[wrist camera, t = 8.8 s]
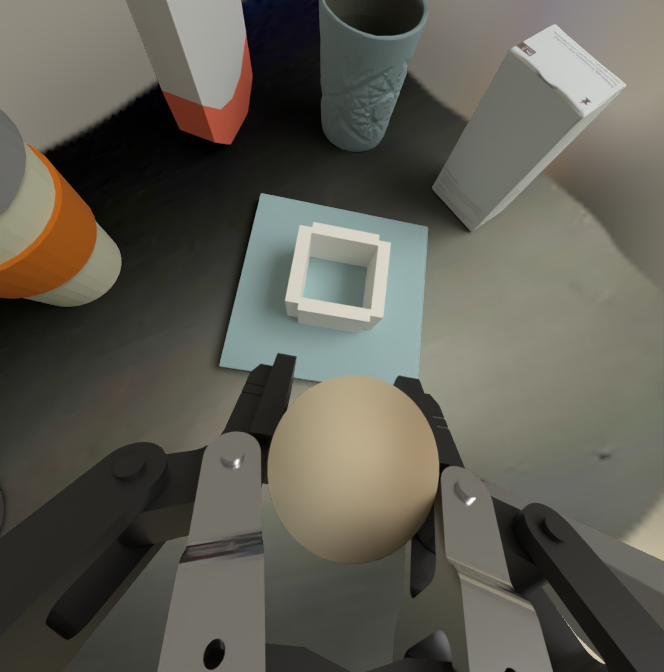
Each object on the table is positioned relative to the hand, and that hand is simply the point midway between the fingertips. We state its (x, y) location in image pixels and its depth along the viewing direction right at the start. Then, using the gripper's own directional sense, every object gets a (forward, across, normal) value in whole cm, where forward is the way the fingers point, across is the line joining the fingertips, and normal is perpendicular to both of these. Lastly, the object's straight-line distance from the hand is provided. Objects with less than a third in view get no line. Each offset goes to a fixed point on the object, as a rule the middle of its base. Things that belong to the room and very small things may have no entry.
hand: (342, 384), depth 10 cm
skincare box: (+32, -15, -7) cm, 36 cm away
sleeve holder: (+20, 0, +5) cm, 21 cm away
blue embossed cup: (+38, +2, -12) cm, 39 cm away
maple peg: (+3, 0, +6) cm, 6 cm away
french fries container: (+35, +17, -9) cm, 40 cm away
